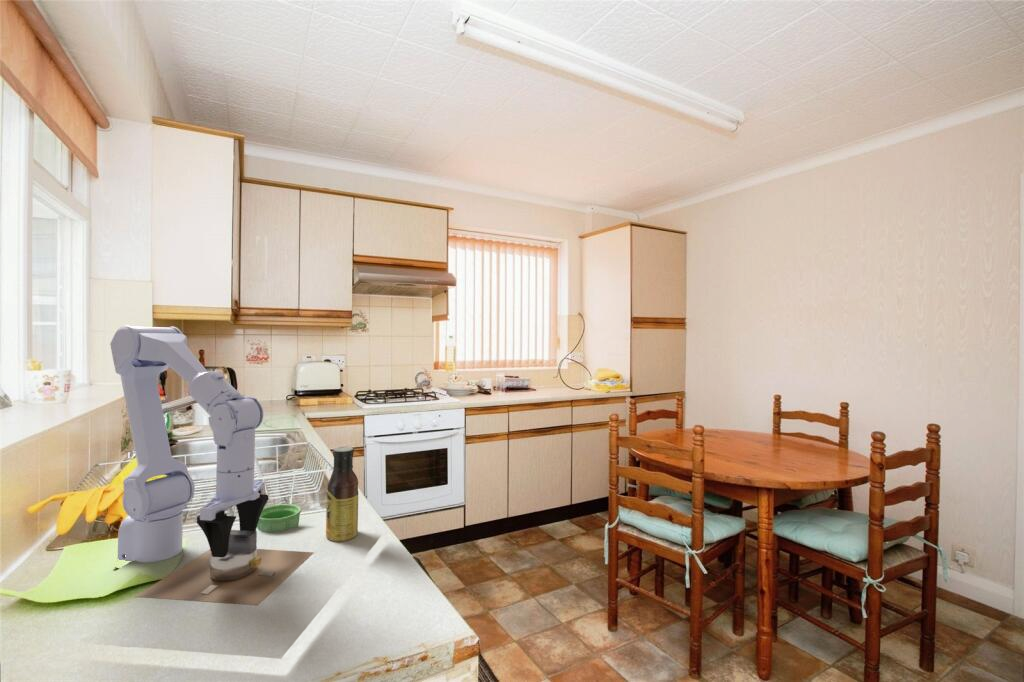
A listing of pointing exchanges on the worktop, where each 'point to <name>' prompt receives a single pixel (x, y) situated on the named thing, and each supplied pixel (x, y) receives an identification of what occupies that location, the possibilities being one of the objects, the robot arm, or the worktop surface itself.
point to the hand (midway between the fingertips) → (234, 546)
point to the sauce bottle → (342, 497)
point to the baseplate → (247, 590)
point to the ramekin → (279, 517)
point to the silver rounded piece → (236, 557)
